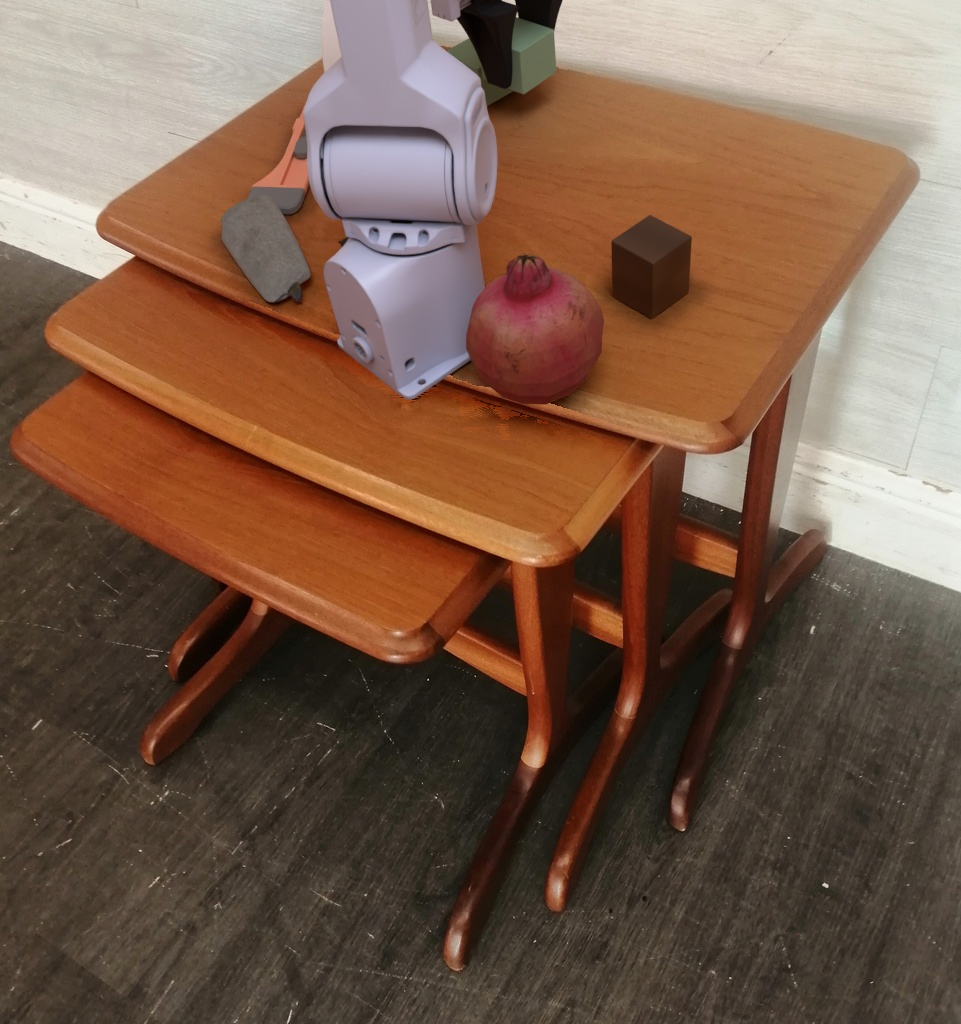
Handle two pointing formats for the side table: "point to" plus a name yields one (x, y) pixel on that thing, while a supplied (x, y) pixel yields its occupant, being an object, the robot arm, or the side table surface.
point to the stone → (264, 247)
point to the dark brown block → (651, 266)
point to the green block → (477, 70)
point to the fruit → (534, 332)
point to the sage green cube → (531, 55)
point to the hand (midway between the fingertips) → (518, 71)
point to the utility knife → (288, 174)
